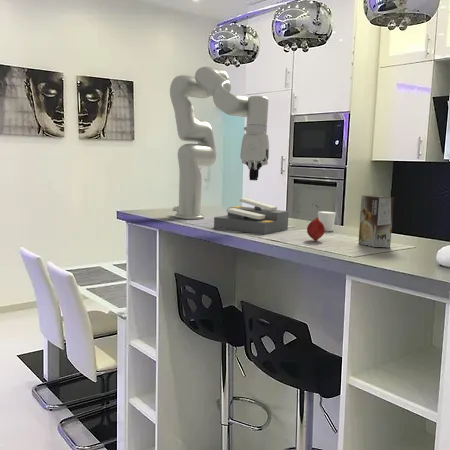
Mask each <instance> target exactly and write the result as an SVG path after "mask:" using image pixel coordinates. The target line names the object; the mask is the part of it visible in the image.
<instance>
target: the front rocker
mask: <svg viewBox="0 0 450 450" xmlns="http://www.w3.org/2000/svg"><path fill="white" fill-rule="evenodd" d="M228 208H229V209H228ZM228 208H226V211H225V212H226V213H228V212H229V213H233V214H237V215H242V216H246V217H250V218H254V219H264V218H265V215H263V214H258V213H254V212H250V211H245V210H241V209H236V208H230V207H228Z"/></svg>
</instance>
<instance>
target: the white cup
mask: <svg viewBox="0 0 450 450" xmlns="http://www.w3.org/2000/svg"><path fill="white" fill-rule="evenodd" d="M336 216H337V215H336V212H335V211H327V210H325V211H324V210H321V211H318V212H317V217H318V218H319V221H321V222H322V223H323V225H324V227H325V232H332V231H334V227H335V220H336Z"/></svg>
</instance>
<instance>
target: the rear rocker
mask: <svg viewBox="0 0 450 450" xmlns="http://www.w3.org/2000/svg"><path fill="white" fill-rule="evenodd" d="M239 202H240V203H244V204H247V205H251V206H254V207H255V206H256V207H260V208H261V209H266V210H269V211H273V210H278V206H275V205H272V204H269V203H267V202H266V203H265V202H262V201H259V200H255V199H253V198H249V197H243V198H241V197H240V198H239Z"/></svg>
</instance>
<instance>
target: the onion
mask: <svg viewBox="0 0 450 450" xmlns="http://www.w3.org/2000/svg"><path fill="white" fill-rule="evenodd" d="M306 227H307V228H306V233H307V235H308V236H309V237H310V238H311V239H312V240H313V241H315V242H316V241H319V239H320V238H322V237H323V236H324V234H325V233H326V231H325V227H324V225H323V223H322V222H321V221H319V218H318V216H317V217H315V218H314V219H313V220H311V221H310V222H309V224H308V225H307V226H306Z"/></svg>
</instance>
